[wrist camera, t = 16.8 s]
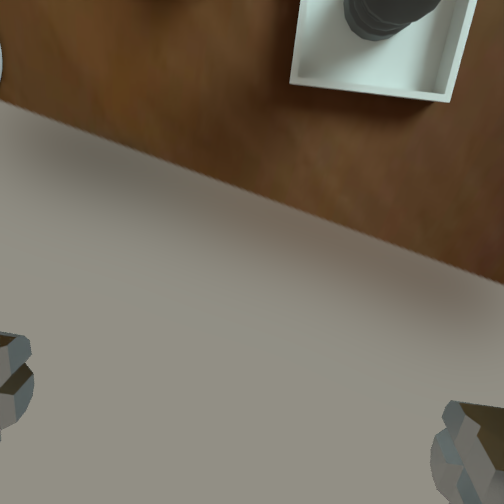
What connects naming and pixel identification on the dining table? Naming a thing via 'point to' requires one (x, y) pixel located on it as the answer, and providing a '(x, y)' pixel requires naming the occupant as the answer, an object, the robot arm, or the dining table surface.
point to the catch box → (381, 52)
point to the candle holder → (384, 16)
